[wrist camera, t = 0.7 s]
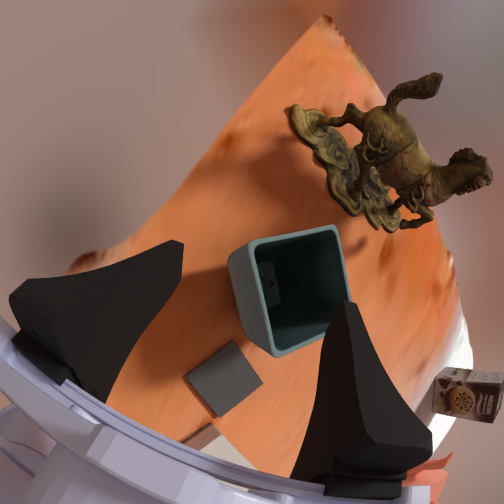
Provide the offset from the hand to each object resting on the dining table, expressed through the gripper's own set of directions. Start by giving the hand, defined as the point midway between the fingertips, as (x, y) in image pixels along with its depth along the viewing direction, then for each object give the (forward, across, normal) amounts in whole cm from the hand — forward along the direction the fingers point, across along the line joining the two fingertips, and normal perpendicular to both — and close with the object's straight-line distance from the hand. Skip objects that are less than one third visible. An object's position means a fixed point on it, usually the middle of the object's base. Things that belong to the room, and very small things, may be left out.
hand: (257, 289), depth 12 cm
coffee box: (+26, -43, +34) cm, 61 cm away
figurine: (+32, -6, +2) cm, 33 cm away
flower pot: (+14, +1, +12) cm, 18 cm away
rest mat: (+6, +1, +18) cm, 19 cm away
